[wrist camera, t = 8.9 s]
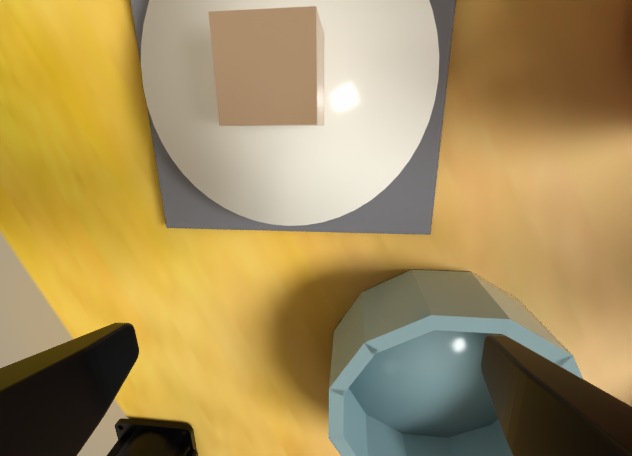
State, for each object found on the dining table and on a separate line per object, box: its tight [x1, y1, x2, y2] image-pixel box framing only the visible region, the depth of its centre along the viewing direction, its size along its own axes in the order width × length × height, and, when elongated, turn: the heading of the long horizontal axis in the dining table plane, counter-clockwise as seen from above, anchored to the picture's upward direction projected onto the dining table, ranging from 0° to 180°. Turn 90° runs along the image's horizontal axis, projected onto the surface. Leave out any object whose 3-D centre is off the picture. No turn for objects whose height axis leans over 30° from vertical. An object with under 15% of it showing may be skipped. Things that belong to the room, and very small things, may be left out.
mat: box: [131, 0, 456, 235], centre depth 17 cm, size 16×16×1 cm
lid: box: [141, 0, 439, 226], centre depth 14 cm, size 15×15×5 cm
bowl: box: [329, 269, 583, 456], centre depth 19 cm, size 13×13×5 cm
